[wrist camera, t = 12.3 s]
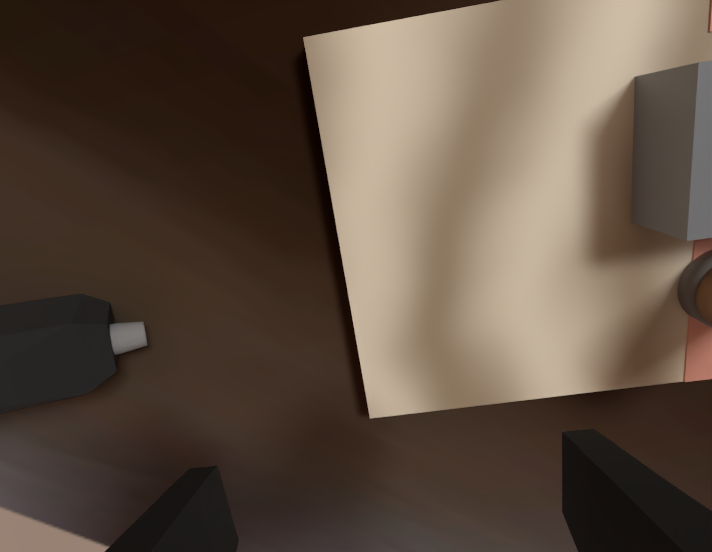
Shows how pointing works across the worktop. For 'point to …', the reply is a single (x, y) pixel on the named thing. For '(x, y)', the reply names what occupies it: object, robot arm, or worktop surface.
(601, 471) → the robot arm
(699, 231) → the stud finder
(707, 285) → the brown cylinder
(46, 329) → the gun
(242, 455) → the worktop surface
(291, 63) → the worktop surface
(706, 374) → the joist line
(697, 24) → the board
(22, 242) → the worktop surface
